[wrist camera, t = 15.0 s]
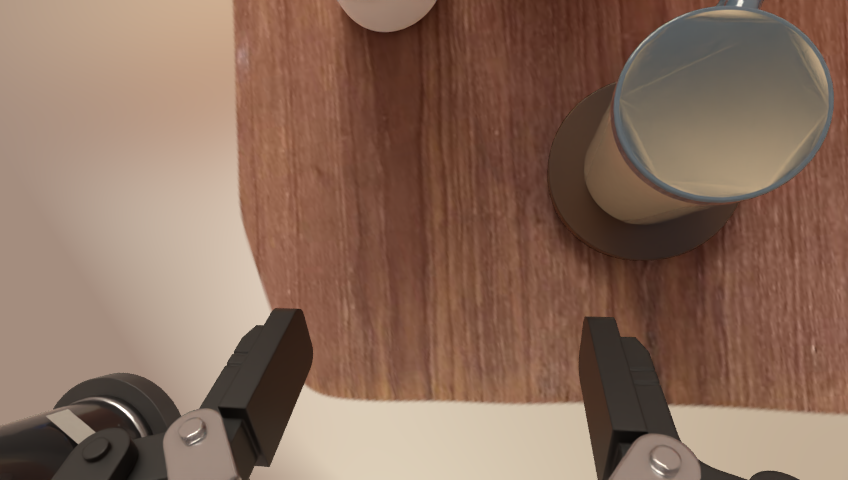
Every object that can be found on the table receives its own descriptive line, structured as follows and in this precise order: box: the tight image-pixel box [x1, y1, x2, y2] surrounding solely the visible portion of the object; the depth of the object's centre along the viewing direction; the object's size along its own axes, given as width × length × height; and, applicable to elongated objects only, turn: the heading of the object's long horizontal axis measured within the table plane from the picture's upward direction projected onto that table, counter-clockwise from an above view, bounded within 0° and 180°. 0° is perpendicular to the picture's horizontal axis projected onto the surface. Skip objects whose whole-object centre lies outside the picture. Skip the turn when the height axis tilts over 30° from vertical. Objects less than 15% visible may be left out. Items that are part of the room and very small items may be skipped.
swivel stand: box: [547, 82, 739, 261], centre depth 27 cm, size 10×10×2 cm
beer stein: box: [584, 0, 834, 225], centre depth 21 cm, size 6×9×11 cm
